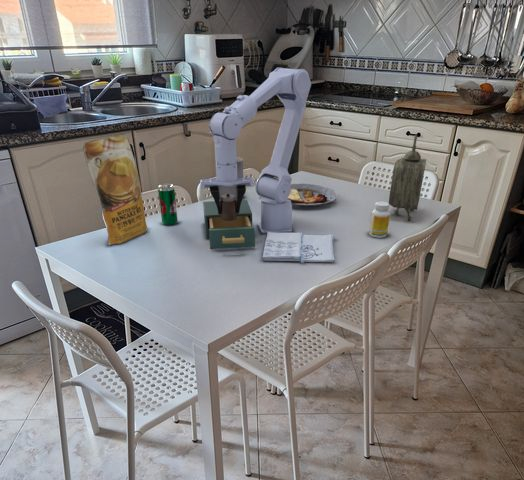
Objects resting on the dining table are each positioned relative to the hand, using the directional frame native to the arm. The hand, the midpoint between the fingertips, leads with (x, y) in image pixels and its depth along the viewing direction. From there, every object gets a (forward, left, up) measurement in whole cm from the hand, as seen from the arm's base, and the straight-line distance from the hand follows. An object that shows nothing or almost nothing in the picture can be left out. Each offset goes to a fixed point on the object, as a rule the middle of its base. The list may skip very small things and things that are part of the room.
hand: (228, 212), depth 137 cm
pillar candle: (-4, -45, -9) cm, 46 cm away
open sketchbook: (-19, +8, -9) cm, 23 cm away
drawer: (0, +2, -8) cm, 8 cm away
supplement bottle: (-45, 0, -9) cm, 46 cm away
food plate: (-30, -38, -9) cm, 49 cm away
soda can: (+18, -20, -9) cm, 28 cm away
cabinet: (0, -11, -9) cm, 14 cm away
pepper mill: (0, 0, -2) cm, 2 cm away
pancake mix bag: (+31, -10, -9) cm, 33 cm away
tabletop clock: (-59, -16, -9) cm, 62 cm away
